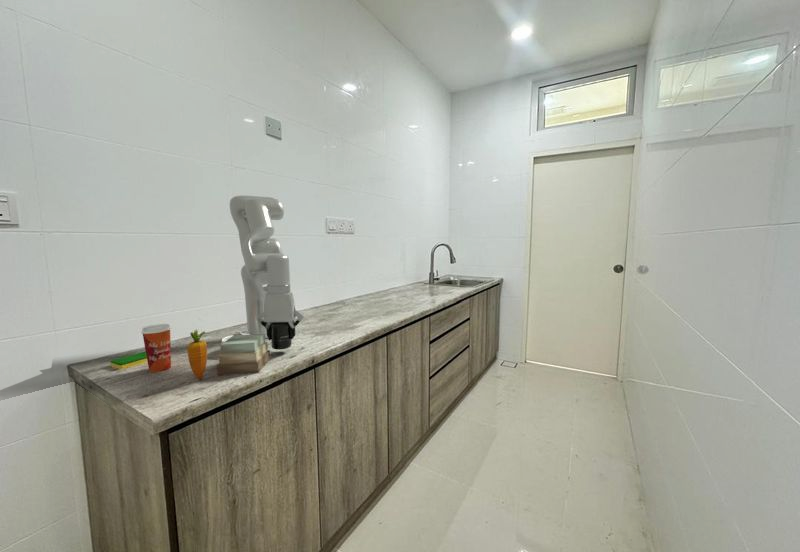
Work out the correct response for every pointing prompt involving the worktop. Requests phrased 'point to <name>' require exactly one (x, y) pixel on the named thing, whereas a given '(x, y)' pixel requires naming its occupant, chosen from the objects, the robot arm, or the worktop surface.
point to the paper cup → (157, 346)
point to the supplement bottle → (280, 335)
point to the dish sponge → (129, 360)
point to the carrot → (197, 355)
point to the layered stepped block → (243, 354)
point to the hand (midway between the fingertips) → (281, 338)
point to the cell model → (232, 335)
